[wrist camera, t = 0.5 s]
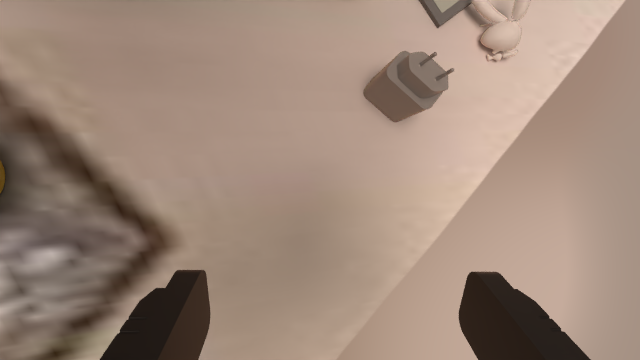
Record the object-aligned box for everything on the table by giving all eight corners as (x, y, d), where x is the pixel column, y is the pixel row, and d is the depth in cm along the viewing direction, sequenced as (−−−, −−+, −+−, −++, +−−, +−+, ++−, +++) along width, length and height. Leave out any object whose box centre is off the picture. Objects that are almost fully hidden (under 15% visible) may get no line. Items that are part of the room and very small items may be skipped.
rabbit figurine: (470, 68, 38) (472, -9, 34) (469, 59, 41) (470, -12, 37) (530, 60, 36) (538, -23, 32) (523, 51, 39) (531, -25, 35)
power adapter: (377, 72, 36) (430, 22, 24) (412, 104, 37) (480, 69, 25) (360, 93, 36) (406, 52, 24) (396, 124, 36) (458, 100, 25)
